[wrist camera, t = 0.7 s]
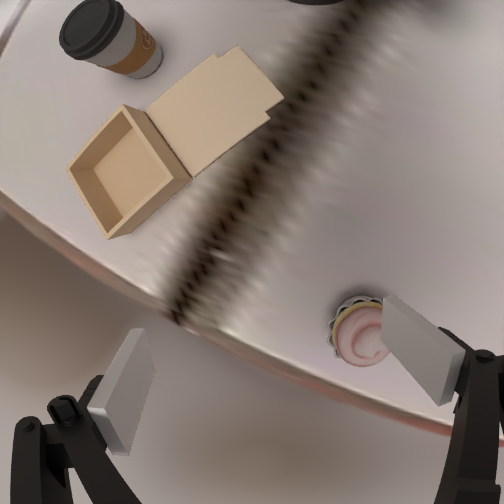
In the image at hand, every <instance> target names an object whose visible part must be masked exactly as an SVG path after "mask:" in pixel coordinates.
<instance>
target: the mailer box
mask: <svg viewBox="0 0 504 504" xmlns="http://www.w3.org/2000/svg"><path fill="white" fill-rule="evenodd" d="M284 99H285V98H284V97H283V96H282V94H281V93H280V92H279V91H278V90H277V88H276V87H275V86H274V85H273V84H272V83H271V81H270V80H269V79H268V78H267V77H266V76H265V75H264V73H263V72H262V71H261V70H260V69H259V68H258V67H257V66H256V65H255V63H254V62H253V61H252V60H251V59H250V58H249V57H248V56H247V55H246V54H245V53H244V52H243V51H242V50H241V48H240V47H239V46H238V45H237V46H235V47H234V48H233V49H231V50H230V51H228V52H227V53H225V54H224V55H223V56H221V57H220V58H218V56H217V55H216V54H215V53H214V54H213V55H211V56H210V57H209V58H207V59H206V60H205V61H203V62H202V63H201V64H199V65H198V66H197V67H195V68H194V69H193V70H192V71H190V72H189V73H188V74H187V75H185V76H184V77H183V78H182V79H180V80H179V81H178V82H177V83H176V84H174V85H173V86H172V87H171V88H170V89H169V90H167V91H166V92H165V93H164V94H163V95H162V96H160V97H159V98H158V99H157V100H156V101H155V102H154V103H153V104H152V105H150V106H149V107H148V108H147V109H146V110H145V111H146V112H147V114H148V115H149V117H150V118H151V119H152V121H153V122H154V124H155V125H156V126H157V128H158V129H159V131H160V132H161V133H162V135H163V136H164V138H165V139H166V140H167V142H168V143H169V145H170V146H171V147H172V149H173V150H174V152H175V153H176V154H177V156H178V157H179V159H180V160H181V161H182V163H183V164H184V166H185V167H186V168H187V170H188V171H189V173H190V174H191V175H192V177H195V176H197V175H198V174H199V173H200V172H202V171H203V170H204V169H205V168H207V167H208V166H209V165H210V164H212V163H213V162H214V161H215V160H217V159H218V158H219V157H220V156H222V155H223V154H224V153H226V152H227V151H228V150H230V149H231V148H232V147H233V146H235V145H236V144H237V143H239V142H240V141H241V140H243V139H244V138H245V137H247V136H248V135H249V134H251V133H252V132H253V131H255V130H256V129H258V128H259V127H260V126H262V125H263V124H265V123H266V122H267V121H269V120H270V117H269V116H268V115H267V114H266V112H267V111H268V110H270V109H271V108H272V107H274V106H275V105H277V104H278V103H280V102H281V101H283V100H284ZM147 114H146V113H145V112H143V111H140V110H138V109H135V108H132V107H130V106H127V105H124V104H122V105H121V106H120V107H119V108H118V109H117V110H116V111H115V112H114V113H113V114H112V115H111V117H110V118H109V119H108V120H107V121H106V122H105V123H104V124H103V125H102V126H101V127H100V128H99V129H98V130H97V132H96V133H95V134H94V135H93V136H92V137H91V138H90V139H89V141H88V142H87V143H86V144H85V145H84V146H83V147H82V149H81V150H80V151H79V152H78V153H77V155H76V156H75V157H74V158H73V159H72V161H71V162H70V163H69V164H68V166H67V167H66V168H65V169H66V171H67V173H68V175H69V176H70V178H71V180H72V182H73V184H74V186H75V187H76V189H77V191H78V193H79V194H80V196H81V198H82V200H83V201H84V203H85V205H86V207H87V208H88V210H89V212H90V213H91V215H92V217H93V218H94V220H95V222H96V223H97V225H98V226H99V228H100V230H101V231H102V233H103V235H104V236H105V238H106V239H107V240H109V239H112V238H115V237H119V236H122V235H125V234H129V233H131V232H132V231H133V230H134V229H136V228H137V227H138V226H139V225H140V224H141V223H142V222H143V221H144V220H145V219H147V218H148V217H149V216H150V215H151V214H152V213H153V212H154V211H155V210H157V209H158V208H159V207H160V206H161V205H162V204H163V203H165V202H166V201H167V200H168V199H169V198H170V197H172V196H173V195H174V194H175V193H176V192H177V191H179V190H180V189H181V188H182V187H183V186H185V185H186V184H187V183H188V182H189V181H191V180H192V179H193V178H192V177H191V176H190V174H189V173H188V171H187V170H186V169H185V167H184V166H183V164H182V163H181V162H180V160H179V159H178V157H177V156H176V155H175V153H174V152H173V150H172V149H171V148H170V146H169V145H168V143H167V142H166V141H165V139H164V138H163V136H162V135H161V134H160V132H159V131H158V129H157V128H156V126H155V125H154V124H153V122H152V121H151V119H150V118H149V117H148V115H147Z"/></svg>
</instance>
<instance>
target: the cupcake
mask: <svg viewBox="0 0 504 504" xmlns="http://www.w3.org/2000/svg"><path fill="white" fill-rule="evenodd" d="M382 310H383V302H382V301H381V299H379V298H371V297H369V296H364V295H359V296H354V297H351V298H349V299H347V300H346V301H345V302H344V303H343V304H342V305H341V306H340V307H339V309H338V311H337V313H336V315H335V317H334V318H333V319H332V320H331V321H330V322H329V323H328V324H327V326H328V328H329V331H330V335H329V337H328V338H327V343H328V344H329V345H330V346H332V347H333V348H334V356H335V357H336V358H342V359H343V360H344V361H345V362H346V363H348V364H350V365H353V366H357V367H368V366H372V365H375V364H377V363H379V362H380V361H382V360H383V359H384V358H385V357H386V356H387V355H388V354H389V353H390V350H389V349H388V348H387V347H386V346H385V344H384V343H383V342H382V341H381V340H380V337H381V325H382Z"/></svg>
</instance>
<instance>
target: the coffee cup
mask: <svg viewBox="0 0 504 504" xmlns="http://www.w3.org/2000/svg"><path fill="white" fill-rule="evenodd" d="M59 42H60V45H61V47H62V48H63V49H64V51H65V53H66V54H68V55H69V56H71V57H72V58H74V59H75V60H84V61H87V62H90V63H93V64H96V65H97V66H99V67H102V68H105V69H108V70H111V71H114V72H116V73H119V74H123V75H126V76H128V77H131V78H135V79H136V78H143V77H146V76H148V75H150V74H152V73H153V72H154V71H155V70H156V69H157V68H158V66H159V64H160V62H161V59H162V49H161V47H160V45H159V44H158V43H157V42H156V41H155V40H154V38H153V37H152V36H151V35H150V34H149V33H148V32H147V31H146V30H145V29H144V28H143V27H142V26H141V25H140V24H139V23H138V22H137V20H136V19H135V18H133V17H131V16H130V15H129V14H128V13H127V12H126V11H125V10H124V9H123V6H122V5H121V4H120V2H117V1H115V0H85V1H83V2H82V3H80V4H79V5H78V6H77V7H76V8H75V9H74V10H73V11H72V12H71V13H70V14H69V15H68V17H67V18H66V20H65V22H64V23H63V25H62V28H61V31H60V35H59Z"/></svg>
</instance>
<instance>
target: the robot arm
mask: <svg viewBox="0 0 504 504" xmlns="http://www.w3.org/2000/svg"><path fill="white" fill-rule="evenodd" d="M289 1H293V2H297V3H302V4H311V5H322V4H330V3H335V2H339V1H342V0H289ZM380 340H381V341H382V342H383V343H384V344H385V346H386V347H387V348H388V349H389V350H390V351H391V352H392V353H393V355H394V356H395V357H396V358H397V359H398V360H399V361H400V363H401V364H402V365H403V366H404V367H405V368H406V369H407V371H408V372H409V373H410V374H411V375H412V376H413V377H414V379H415V380H416V381H417V382H418V383H419V384H420V386H421V387H422V388H423V389H424V390H425V391H426V393H427V394H428V395H429V396H430V397H431V398H432V400H433V401H434V402H435V403H436V404H437V405H438V407H439V406H441V405H443V404H446V403H448V402H450V401H451V400H452V397H453V394H454V391H456V392H457V393H458V394H459V397H458V400H457V403H456V406H455V409H454V411H453V413H454V414H455V419H454V424H453V430H452V435H451V440H450V445H449V450H448V454H447V459H446V463H445V467H444V471H443V475H442V478H441V482H440V485H439V489H438V492H437V495H436V498H435V502H434V504H499V500H500V493H501V487H500V485H496V484H495V479H496V470H497V460H498V447H499V420H500V423H501V427H502V431H503V434H504V355H501V356H495V354H493V353H492V352H490V351H488V350H484V349H482V350H476V351H475V350H474V349H472V348H471V347H470V346H468V345H467V344H466V343H465V342H463V341H462V340H460V339H459V338H458V337H457V336H455V335H454V334H453V333H452V332H450V331H449V330H447V329H444V328H442V327H438V328H437V327H436V326H435V325H433V324H432V323H431V322H429V321H428V320H427V319H426V318H424V317H423V316H422V315H420V314H419V313H418V312H416V311H415V310H414V309H413V308H411V307H410V306H409V305H407V304H406V303H405V302H403V301H402V300H401V299H399V298H398V297H397V296H395V295H392V296H387V297H383V310H382V325H381V337H380ZM155 372H156V369H155V366H154V362H153V359H152V355H151V352H150V348H149V345H148V341H147V337H146V334H145V330H144V328H140V329H131V330H130V332H129V333H128V335H127V337H126V339H125V340H124V342H123V344H122V345H121V347H120V349H119V350H118V352H117V354H116V356H115V357H114V359H113V361H112V362H111V364H110V366H109V368H108V370H107V371H106V373H105V375H97V376H96V377H95V378H93V379H92V380H91V381H90V383H89V384H88V386H87V388H86V390H85V391H84V393H83V395H82V396H81V398H80V400H79V401H78V403H77V401H76V399H75V398H74V397H73V396H70V395H62V396H58V397H56V398H54V399H53V400H51V401H50V402H49V404H48V406H47V411H48V412H49V414H50V416H51V418H52V420H53V421H54V423H55V424H46V425H42V423H41V422H40V420H39V419H38V418H37V417H34V416H28V417H24V418H22V419H21V420H19V422H18V423H17V424H16V427H15V432H14V440H13V451H12V463H11V485H10V486H11V487H10V504H73V498H72V492H71V486H70V480H69V472H68V468H75V470H76V472H77V474H78V476H79V478H80V480H81V482H82V484H83V486H84V488H85V490H86V492H87V493H88V495H89V497H90V499H91V501H92V502H93V504H142V503H141V502H140V501H139V499H138V498H137V497H136V496H135V494H134V493H133V492H132V490H131V489H130V488H129V486H128V485H127V484H126V482H125V481H124V479H123V478H122V477H121V475H120V474H119V472H118V471H117V469H116V468H115V466H114V465H113V463H112V462H111V460H110V459H109V457H108V456H107V454H106V453H105V451H106V448H107V446H108V448H109V450H110V451H111V453H112V454H113V455H122V456H129V454H130V451H131V447H132V444H133V440H134V437H135V434H136V431H137V427H138V424H139V421H140V418H141V414H142V411H143V408H144V405H145V402H146V399H147V396H148V393H149V390H150V386H151V384H152V380H153V377H154V374H155Z"/></svg>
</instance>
